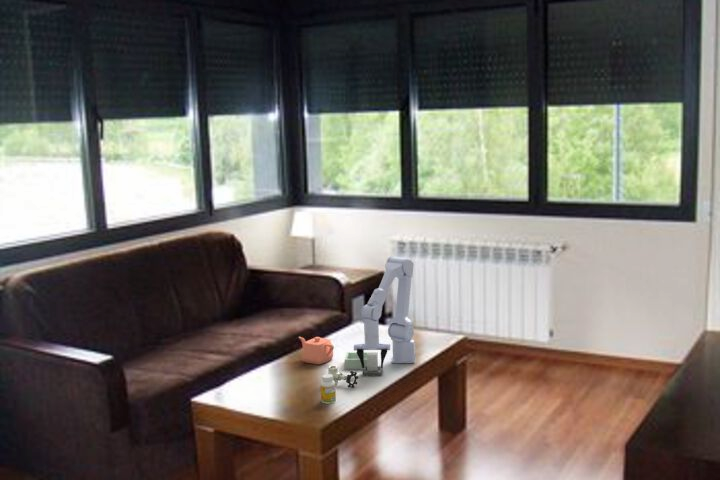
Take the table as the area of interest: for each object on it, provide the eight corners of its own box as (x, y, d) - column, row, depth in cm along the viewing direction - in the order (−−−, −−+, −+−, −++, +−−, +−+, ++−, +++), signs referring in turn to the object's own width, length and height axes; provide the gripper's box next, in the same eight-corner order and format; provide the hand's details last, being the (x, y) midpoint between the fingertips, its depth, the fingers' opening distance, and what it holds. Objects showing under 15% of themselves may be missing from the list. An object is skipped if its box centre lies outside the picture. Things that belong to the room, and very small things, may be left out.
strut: (378, 371, 316) (378, 352, 315) (377, 375, 312) (377, 355, 311) (367, 371, 317) (367, 352, 315) (366, 375, 312) (366, 355, 311)
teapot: (326, 367, 323) (325, 343, 321) (291, 361, 332) (290, 337, 331) (341, 360, 332) (340, 336, 331) (307, 354, 342) (306, 331, 340)
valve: (323, 384, 303) (348, 390, 296) (323, 368, 302) (347, 373, 295) (334, 379, 308) (358, 385, 301) (334, 363, 307) (358, 369, 300)
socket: (382, 369, 318) (382, 366, 317) (381, 376, 310) (381, 372, 310) (364, 369, 318) (364, 366, 318) (362, 376, 311) (362, 372, 311)
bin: (370, 361, 329) (369, 352, 328) (368, 368, 320) (367, 359, 319) (347, 361, 330) (346, 352, 329) (344, 368, 320) (344, 359, 320)
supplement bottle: (320, 399, 288) (319, 373, 286) (335, 398, 288) (334, 372, 286) (321, 404, 282) (320, 378, 281) (336, 403, 283) (335, 377, 281)
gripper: (352, 337, 308) (353, 370, 311) (389, 337, 307) (390, 370, 309) (354, 332, 315) (355, 364, 318) (390, 332, 314) (391, 364, 316)
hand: (372, 367), depth 314 cm, fingers open, 7 cm apart
